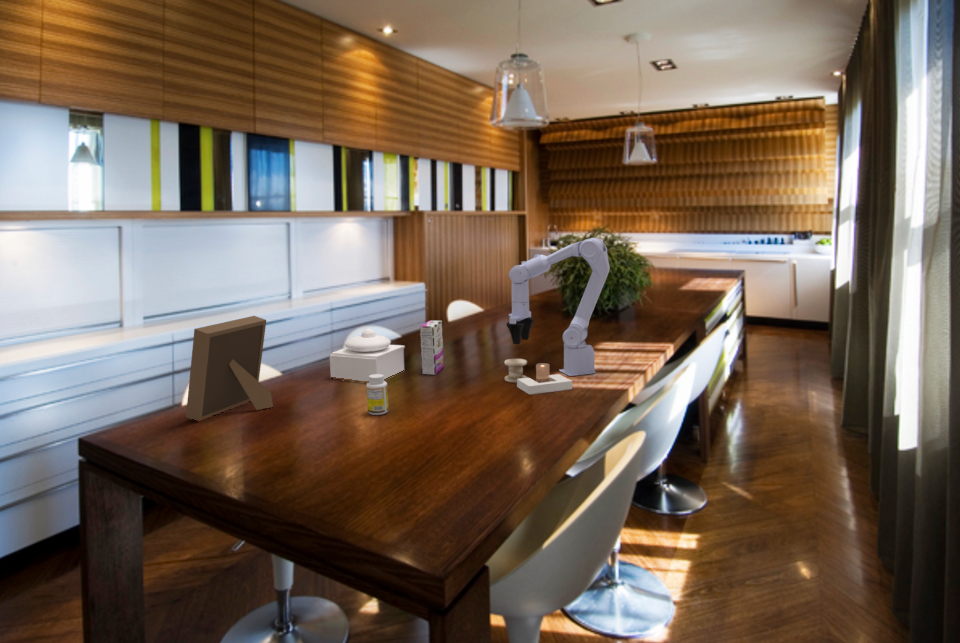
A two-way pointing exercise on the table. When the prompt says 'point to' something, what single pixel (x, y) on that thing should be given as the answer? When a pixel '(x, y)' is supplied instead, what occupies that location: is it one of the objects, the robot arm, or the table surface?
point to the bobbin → (515, 369)
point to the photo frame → (227, 367)
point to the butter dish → (367, 357)
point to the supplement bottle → (377, 395)
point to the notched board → (544, 385)
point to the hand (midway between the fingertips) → (520, 341)
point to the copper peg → (542, 373)
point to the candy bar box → (431, 347)
